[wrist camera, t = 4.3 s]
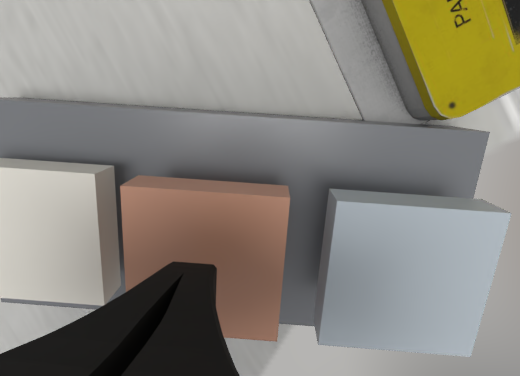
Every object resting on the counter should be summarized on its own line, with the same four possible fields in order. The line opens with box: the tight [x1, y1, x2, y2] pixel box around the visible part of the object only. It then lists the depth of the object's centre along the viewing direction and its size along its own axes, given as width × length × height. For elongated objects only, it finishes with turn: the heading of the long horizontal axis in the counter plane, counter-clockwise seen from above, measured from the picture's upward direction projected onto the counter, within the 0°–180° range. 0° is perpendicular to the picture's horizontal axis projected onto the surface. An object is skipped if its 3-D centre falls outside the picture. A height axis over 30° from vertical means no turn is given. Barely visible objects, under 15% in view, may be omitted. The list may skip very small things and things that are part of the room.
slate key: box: [313, 189, 511, 357], centre depth 13 cm, size 6×6×4 cm
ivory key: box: [0, 158, 121, 306], centre depth 15 cm, size 6×6×4 cm
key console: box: [0, 98, 490, 326], centre depth 16 cm, size 10×22×3 cm, turn 86°
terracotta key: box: [120, 175, 290, 341], centre depth 13 cm, size 6×6×4 cm
